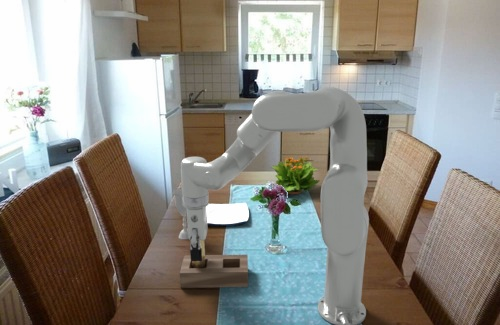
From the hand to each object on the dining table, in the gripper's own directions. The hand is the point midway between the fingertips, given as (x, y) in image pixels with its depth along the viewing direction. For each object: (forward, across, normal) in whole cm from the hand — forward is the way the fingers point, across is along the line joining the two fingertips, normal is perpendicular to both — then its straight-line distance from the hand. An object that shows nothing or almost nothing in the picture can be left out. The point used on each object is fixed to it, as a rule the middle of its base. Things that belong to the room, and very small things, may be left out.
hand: (198, 252), depth 120 cm
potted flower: (+9, +75, -38) cm, 85 cm away
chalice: (+9, +28, +8) cm, 31 cm away
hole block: (+9, 0, -5) cm, 10 cm away
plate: (+9, +45, -6) cm, 46 cm away
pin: (+8, 0, 0) cm, 8 cm away
